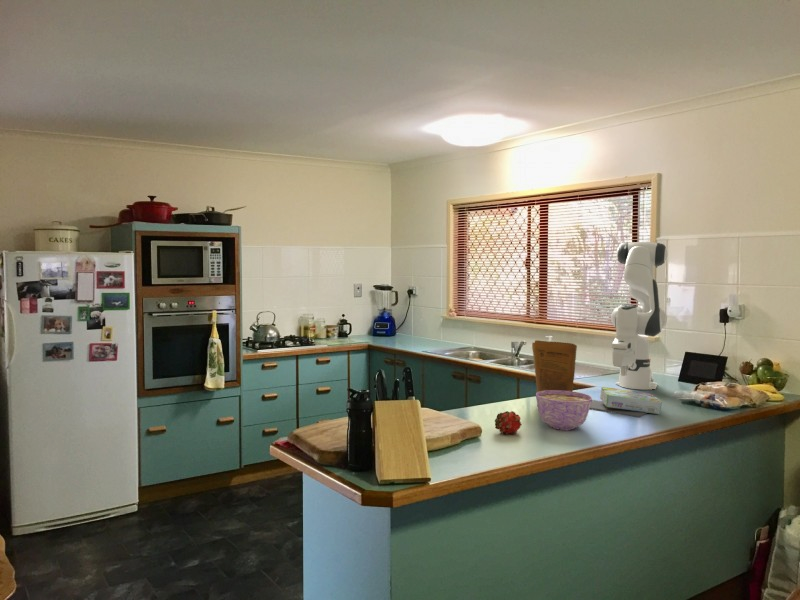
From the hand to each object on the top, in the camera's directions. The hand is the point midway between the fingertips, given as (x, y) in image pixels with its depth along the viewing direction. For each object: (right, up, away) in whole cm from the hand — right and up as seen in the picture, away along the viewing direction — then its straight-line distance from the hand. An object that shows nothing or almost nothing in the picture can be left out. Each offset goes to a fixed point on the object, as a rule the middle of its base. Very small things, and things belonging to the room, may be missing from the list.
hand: (624, 375), depth 282 cm
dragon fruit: (-57, -15, -51) cm, 78 cm away
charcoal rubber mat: (-7, -13, -8) cm, 17 cm away
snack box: (0, -8, -1) cm, 8 cm away
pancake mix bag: (-33, -13, -13) cm, 38 cm away
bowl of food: (-36, -14, -41) cm, 57 cm away
